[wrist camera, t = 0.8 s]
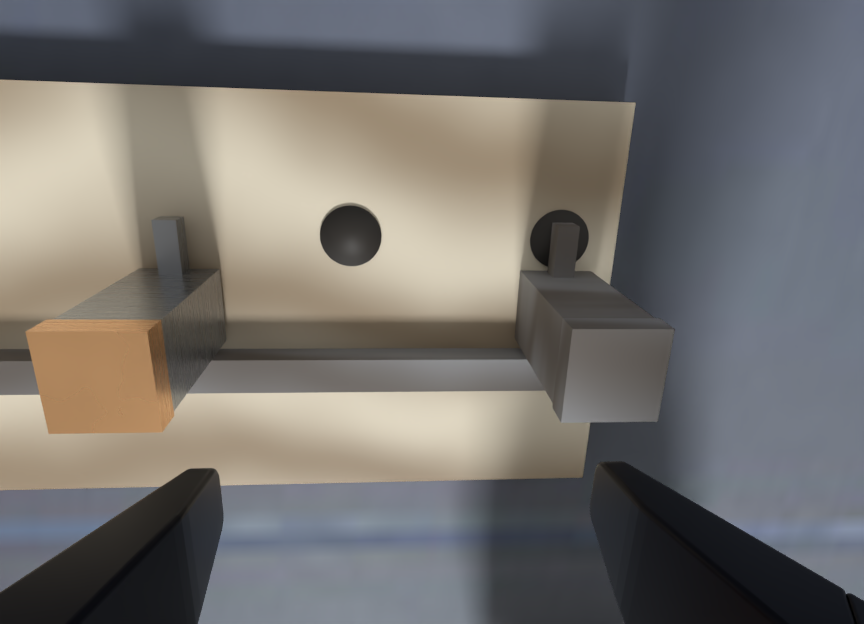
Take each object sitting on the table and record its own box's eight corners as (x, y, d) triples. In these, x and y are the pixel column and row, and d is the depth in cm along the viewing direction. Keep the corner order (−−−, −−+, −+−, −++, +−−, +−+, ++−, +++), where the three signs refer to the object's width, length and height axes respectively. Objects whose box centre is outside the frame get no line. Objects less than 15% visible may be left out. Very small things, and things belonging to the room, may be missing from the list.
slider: (228, 341, 19) (161, 432, 13) (148, 341, 18) (48, 434, 13) (216, 216, 17) (136, 260, 12) (130, 215, 17) (8, 259, 12)
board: (572, 460, 23) (647, 596, 16) (-65, 472, 21) (-272, 633, 14) (620, 103, 18) (749, 93, 12) (-189, 74, 16) (-575, 43, 10)
